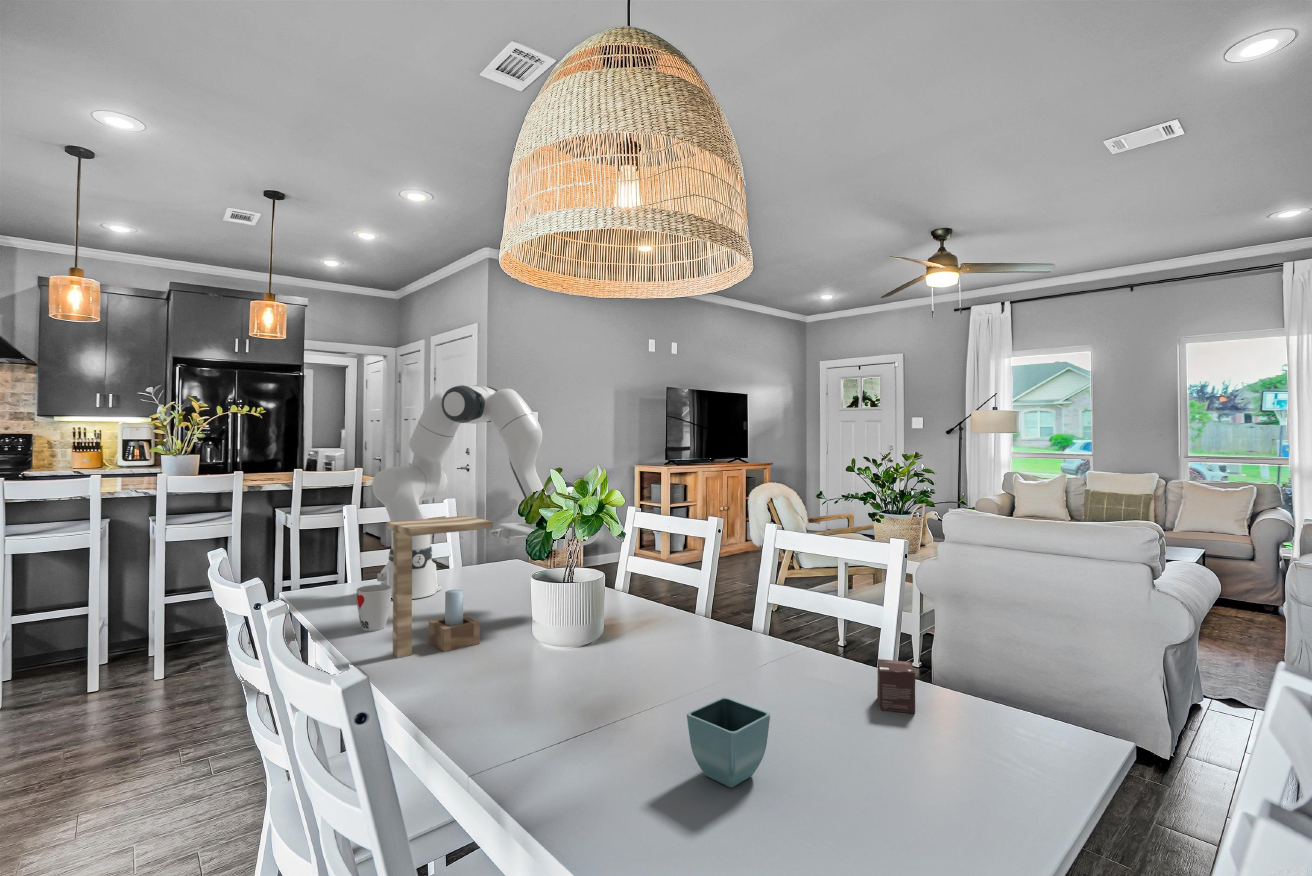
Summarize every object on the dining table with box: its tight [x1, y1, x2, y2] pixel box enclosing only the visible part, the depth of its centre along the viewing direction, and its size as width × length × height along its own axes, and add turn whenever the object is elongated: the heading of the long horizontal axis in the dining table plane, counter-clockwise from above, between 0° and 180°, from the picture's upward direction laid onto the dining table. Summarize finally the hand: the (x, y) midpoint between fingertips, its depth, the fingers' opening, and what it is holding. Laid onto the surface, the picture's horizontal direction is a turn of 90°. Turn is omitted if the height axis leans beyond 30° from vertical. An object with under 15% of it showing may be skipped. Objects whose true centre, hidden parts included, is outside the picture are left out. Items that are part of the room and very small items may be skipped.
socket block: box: [428, 614, 481, 653], centre depth 149 cm, size 8×8×5 cm
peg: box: [444, 589, 464, 627], centre depth 149 cm, size 4×4×12 cm
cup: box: [356, 584, 392, 632], centre depth 160 cm, size 8×8×10 cm
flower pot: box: [686, 696, 771, 788], centre depth 92 cm, size 9×9×9 cm
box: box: [876, 658, 916, 714], centre depth 116 cm, size 6×6×7 cm
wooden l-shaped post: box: [386, 515, 494, 659], centre depth 147 cm, size 14×20×28 cm
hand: (499, 537), depth 161 cm, fingers open, 8 cm apart
